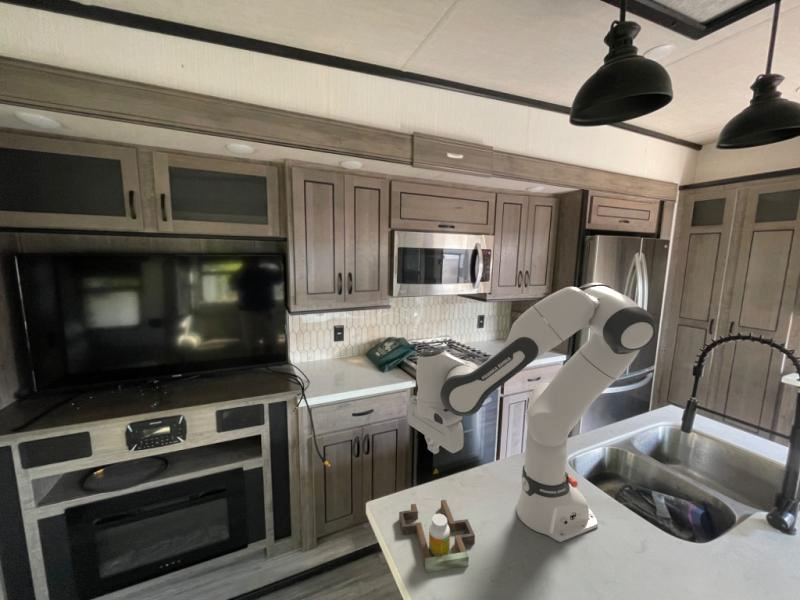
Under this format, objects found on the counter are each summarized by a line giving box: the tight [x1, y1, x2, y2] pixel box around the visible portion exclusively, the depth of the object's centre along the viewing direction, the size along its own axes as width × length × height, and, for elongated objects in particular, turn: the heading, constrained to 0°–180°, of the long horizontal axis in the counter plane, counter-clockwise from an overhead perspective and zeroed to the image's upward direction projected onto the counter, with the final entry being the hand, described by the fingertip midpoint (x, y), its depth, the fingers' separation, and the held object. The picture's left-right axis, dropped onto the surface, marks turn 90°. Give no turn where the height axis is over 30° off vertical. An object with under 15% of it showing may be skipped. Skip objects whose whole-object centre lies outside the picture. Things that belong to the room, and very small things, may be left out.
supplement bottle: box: [428, 513, 451, 557], centre depth 87 cm, size 5×5×10 cm
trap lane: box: [398, 499, 476, 573], centre depth 92 cm, size 19×20×2 cm
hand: (433, 451), depth 94 cm, fingers closed
